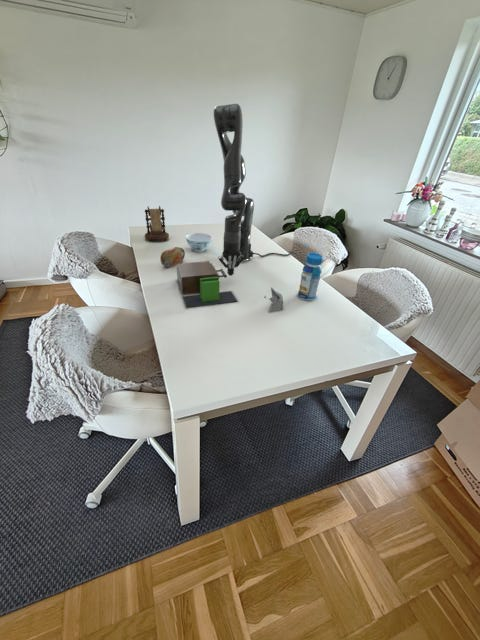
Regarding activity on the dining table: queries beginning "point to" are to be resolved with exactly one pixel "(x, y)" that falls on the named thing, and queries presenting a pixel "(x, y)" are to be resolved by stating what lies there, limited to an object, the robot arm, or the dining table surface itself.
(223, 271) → the drawer
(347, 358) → the dining table surface
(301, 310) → the dining table surface
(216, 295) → the green ridged box
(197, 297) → the placemat
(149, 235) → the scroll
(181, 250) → the tin
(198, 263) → the cabinet
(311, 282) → the beverage bottle
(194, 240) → the chinaware
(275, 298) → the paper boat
